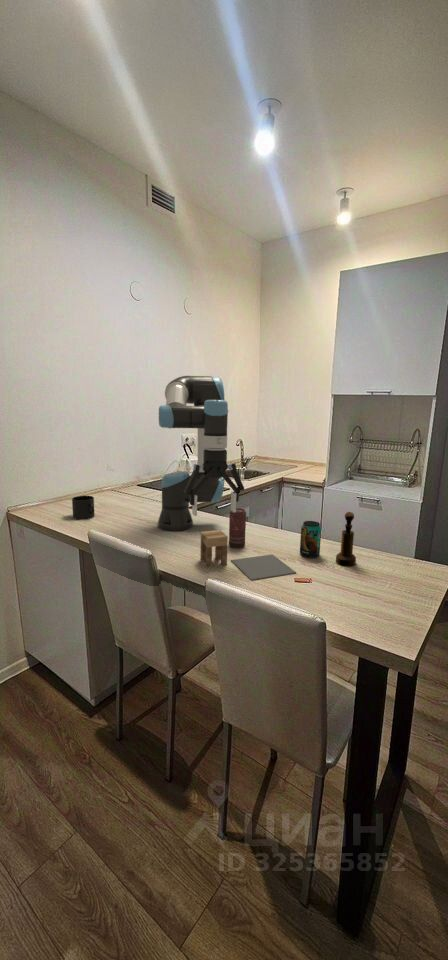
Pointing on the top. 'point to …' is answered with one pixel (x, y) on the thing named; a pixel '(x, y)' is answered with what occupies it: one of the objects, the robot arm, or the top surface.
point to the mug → (83, 507)
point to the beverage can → (310, 539)
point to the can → (237, 528)
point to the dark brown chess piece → (347, 544)
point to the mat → (262, 567)
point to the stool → (213, 540)
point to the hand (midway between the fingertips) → (214, 513)
